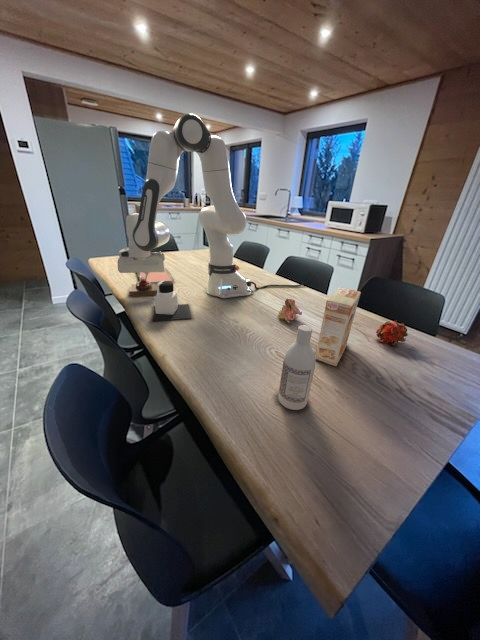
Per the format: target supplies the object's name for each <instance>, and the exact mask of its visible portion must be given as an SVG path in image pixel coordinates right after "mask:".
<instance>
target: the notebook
mask: <svg viewBox="0 0 480 640" xmlns="http://www.w3.org/2000/svg"><path fill="white" fill-rule="evenodd" d="M140 276H141V277H145V276H146V275H145V273H140ZM137 278H138V282H139V281H140V278H139V277H138V276H137ZM147 281H148V282H151V284H158V283H159V282H161V281H170V282H172V283H173V284H174V281H175V280H174V278H173V276H172V275H171V273H170V272H169V271H168V269H167V268H166V267H165V271H164V272H149V274H148V276H147Z"/></svg>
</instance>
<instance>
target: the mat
mask: <svg viewBox="0 0 480 640" xmlns="http://www.w3.org/2000/svg"><path fill="white" fill-rule="evenodd" d="M191 319H192V317H191V310H190V306H189V304H188V303H186V304H183V303H182V304H178V309H177V310H176V312H175V313H174V315H167V314H156V311H155V305H154V306H153V316H152V321H153V322H166V321H167V322H169V321H180V320H181V321H183V320H191Z"/></svg>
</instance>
